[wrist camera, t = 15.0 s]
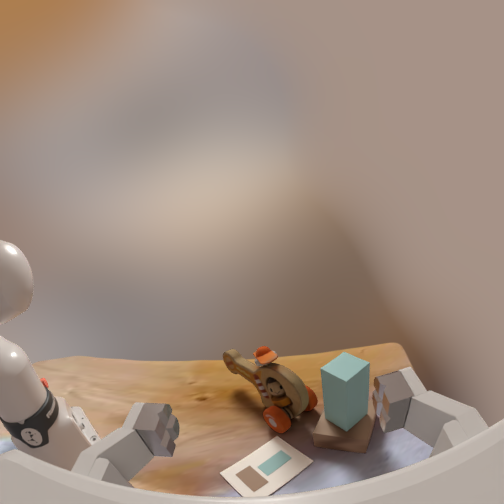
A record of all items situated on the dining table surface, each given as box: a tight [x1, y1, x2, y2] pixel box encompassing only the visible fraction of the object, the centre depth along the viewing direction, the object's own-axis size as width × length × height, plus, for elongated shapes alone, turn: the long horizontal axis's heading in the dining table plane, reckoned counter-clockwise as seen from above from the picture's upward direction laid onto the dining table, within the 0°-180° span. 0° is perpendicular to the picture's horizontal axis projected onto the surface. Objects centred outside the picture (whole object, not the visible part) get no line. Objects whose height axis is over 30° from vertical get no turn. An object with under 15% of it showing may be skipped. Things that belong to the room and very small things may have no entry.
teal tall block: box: [321, 352, 370, 432], centre depth 34 cm, size 4×4×10 cm
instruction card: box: [220, 436, 313, 497], centre depth 32 cm, size 8×11×1 cm
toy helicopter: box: [223, 346, 318, 433], centre depth 46 cm, size 8×21×14 cm, turn 39°
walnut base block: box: [313, 400, 377, 453], centre depth 36 cm, size 8×8×4 cm
